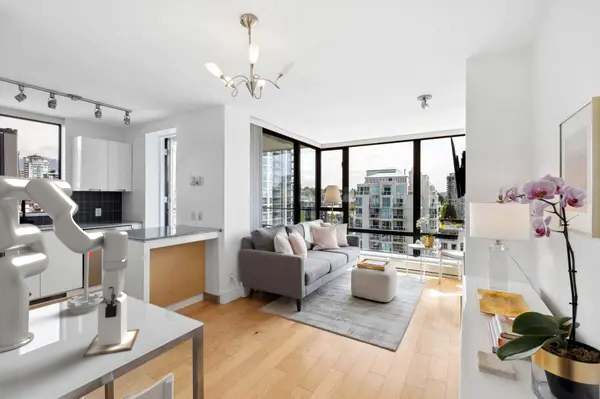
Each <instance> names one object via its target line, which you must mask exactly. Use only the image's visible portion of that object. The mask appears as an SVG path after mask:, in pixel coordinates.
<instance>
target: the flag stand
mask: <svg viewBox="0 0 600 399" xmlns="http://www.w3.org/2000/svg"><path fill="white" fill-rule="evenodd" d="M92 256H93V253H91V252H88V253H84V266H83V267H84V273H83V274H84V276H83V278H84V279H83V295H82V296H80V297H79V296H78V295H75V296H72V297H71V298H70V299H68V300H67V307H68V308H69V309H70V312H69V313H70V314H73V315H81V314H87V313H91V312H94V311H98V304H99V303H100V302H101V301H102V300H103V299H102V294H101V293H98V292H95V293H94V294H93V295H91V293H89V263H90V262H89V261H90V260H89V259H90V258H91V257H92Z"/></svg>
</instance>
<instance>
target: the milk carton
mask: <svg viewBox="0 0 600 399" xmlns="http://www.w3.org/2000/svg"><path fill="white" fill-rule="evenodd" d="M113 291H114V290H113ZM112 297H115V296H113V295H112ZM112 300H113V302H114V299H112ZM116 305H117V309H116V317H110V318H105V307H106V298H105V299H103V300H102V301H101V302H100V303H99V304H98V309H97V334H98V346H103V345H111V344H119V343H121V342H122V341H123V339H124V338H125V336H126V335H127V330H128V295H127V294H126V293H125V292H121V293H120V296H119V297H118V298H117V299H116Z"/></svg>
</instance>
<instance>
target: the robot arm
mask: <svg viewBox="0 0 600 399" xmlns="http://www.w3.org/2000/svg"><path fill="white" fill-rule="evenodd" d="M72 195H73V187H72V186H71V185H70V183H69V182H67V181H66V180H63V179H58V178H50V177H37V178H35V177H33V178H32V177H25V176H24V177H21V176H12V175H0V253H1V254H2V253H8V252H9V253H10V252H15V251H18V253H14V254H10V255H6V256H5V255H4V256H1V257H0V353H2V352H7V351H11V350H14V349H17V348H20V347H22V346H25V345H27V344H28V343H31V342H32V341H33V340H34V339H35V334H34V333H33V332H30V331H29V329H30V328H29V325H30V324H29V322H30V321H29V320H30V317H29V316H30V290H29V289H30V288H29V286H28V284H27V283H26V282H25V279H27V278H31V277H33V276H36V275H39V274H42V273H44V272H45V271H46V270H47V269H48V267H49V262H50V260H49V259H50V258H49V254H48V249H47V246H46V245H47V244H46V241H45V237H44V234H43V232H42V230H41V229H40V228H39V227H38V226H37V225H35V224H31V223H20V224H19V220H18V219H17V218H18V217H17V213H16V211H15V209H14V208H13V207H12V206H11V205H10V204H9V203H8V202H7V201H9V200H14V201H15V200H16V201H21V200H22V201H24V200H25V201H26V200H27V201H29V200H30V201H33V202H34V203H35V204H36V205H37V206H38V207H39V208H40V209H41V210H42V211H43V212H44V213H45V214H47V216H49V218H51V219H52V227H53V231H54V234H55V237H57V239H58V240H59V242H61V243H62V244H63V245H64V246H65V247H66V248H67V249H69V251H71V252H74V254H75V253H76V254H79V255H80V254H82V255H85V253H88V252H90V253H91V252H95V251H101V250H102V251H103V252H102V271H104V273H103V274H104V275H103V280H102V281H103V282H102V292H101V293H102V294H101V295H102V299H105V298H106V307H105V318H110V317H116V309H117V305H116V299H117V298H118V297H119V296H120V293H121V292H123V291H124V289H125V270H127V269H128V260H129V259H128V258H129V233H128V232H127V231H125V230H109V229H108V230H107V229H99V228H98V229H93V230H91V229H90V230H85V231H84V230H83V229H82V228H81V227H80V226H79V225H78V224H77V223H76V221H74V218H73V216H74V215H76V213H77V212H78V210H79V205H78V204H77V203H76V202H75V201H74V200H73V199H72V198H71V196H72ZM113 290H114V291H113ZM123 293H124V292H123ZM112 295H113V296H115V297H112ZM112 299H114V302H113V300H112Z"/></svg>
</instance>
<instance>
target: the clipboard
mask: <svg viewBox="0 0 600 399" xmlns="http://www.w3.org/2000/svg"><path fill="white" fill-rule="evenodd" d="M139 332H140V329H139V328H136V329H129V330H128V329H127V335H126V336H125V338H124V339H123V341H122V342H121V343H119V344H111V345H103V346H98V333H97V334H96V335H95V337H94V338H93V340H92V341H91V343H90V344H89V345H88V347H87V348H86V350H85V352H84V353H83V354H82V358H87V357H96V356H100V355H107V354H113V353H119V352H120V353H121V352H126V351H131V350H133V346H134V344H135V341H136V339H137V337H138V334H139Z"/></svg>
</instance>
